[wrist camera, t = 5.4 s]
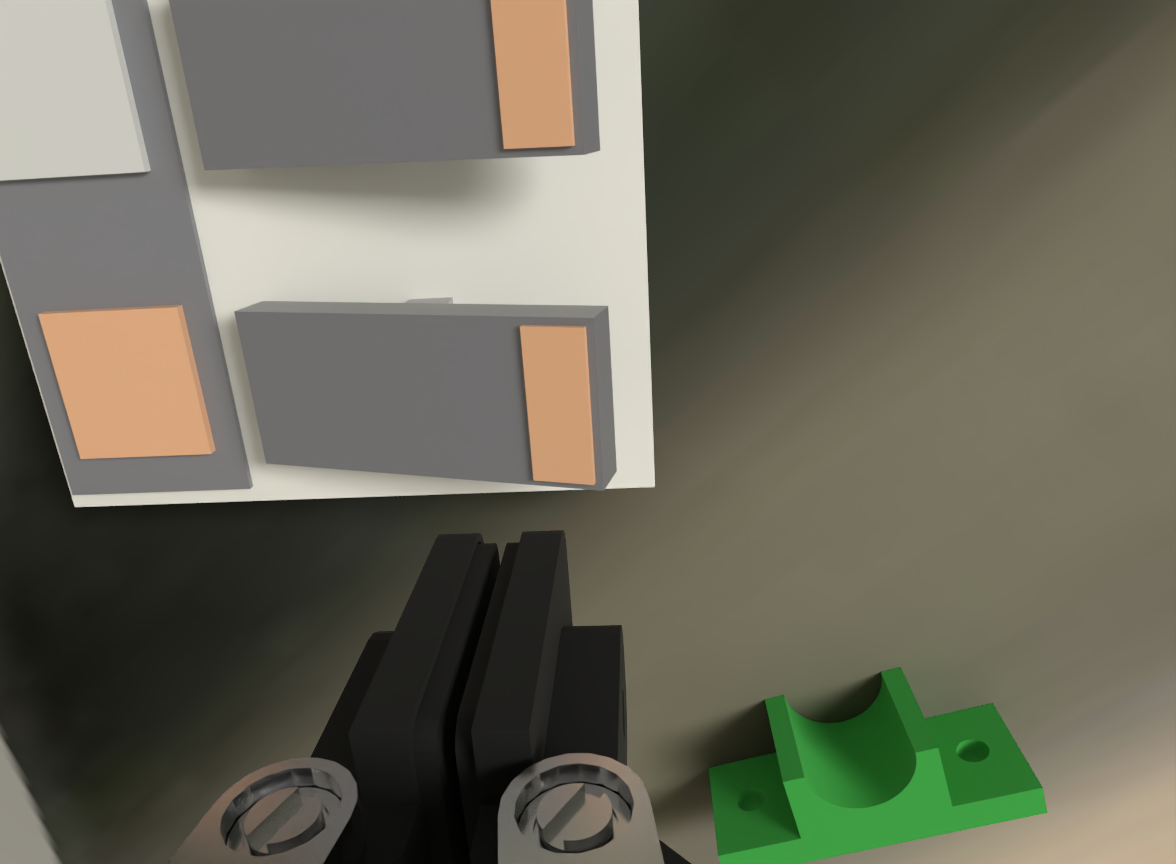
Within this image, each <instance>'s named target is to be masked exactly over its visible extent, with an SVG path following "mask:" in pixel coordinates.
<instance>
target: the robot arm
mask: <svg viewBox="0 0 1176 864" xmlns="http://www.w3.org/2000/svg"><path fill="white" fill-rule="evenodd" d="M167 864H691V863H689V862H688V861H687V860H685V859H684V858H683V857H681V856H680V855H679V854H678V853H676V852H675V851H674V850H672V849H671V848H670V847H668V846H667V845H666V844H664V843H663V842H662V841H660V840H659V837H658V833H657V829H656V824H655V820H654V815H653V811H652V807H651V802H650V798H649V795H648V793H647V790H646V788H645V786H644V784H643V782H642V780H641V779H640V778H639V777H638V776H637V775H636V774H635V773H634V772H633V771H632V770H631V769H630V768H629V767H628V766H627V709H626V683H625V664H624V646H623V632H622V625H610V626H573V625H572V612H571V600H570V587H569V574H568V562H567V549H566V539H565V533H564V530H562V531H532V532H523V533H522V535H521V539H520V543H507V545H506V548H505V551H504V555H503V558H502V562H501V565H500V561H499V553H498V548H497V545H496V543H490V544H484V542H483V538H482V535H481V534H480V533H472V534H443V535H438V537H437V538H436V540H435V543H434V545H433V547H432V549H431V551H430V554H429V556H428V558H427V560H426V563H425V565H424V567H423V569H422V571H421V574H420V576H419V578H418V580H417V582H416V585H415V587H414V589H413V591H412V593H411V596H410V598H409V600H408V602H407V604H406V607H405V609H404V611H403V613H402V616H401V618H400V620H399V622H398V624H397V627H396V629H395V631H380V632H375V633H373V634H372V636H371V637H370V639H369V640H368V642H367V644H366V646H365V648H364V650H363V652H362V654H361V656H360V658H359V660H358V662H357V664H356V666H355V668H354V670H353V672H352V674H351V676H350V678H349V680H348V682H347V684H346V686H345V688H344V691H343V693H342V695H341V697H340V699H339V701H338V703H337V705H336V707H335V709H334V711H333V713H332V715H331V717H330V719H329V721H328V723H327V725H326V727H325V729H324V731H323V733H322V735H321V737H320V739H319V741H318V743H317V745H316V747H315V749H314V751H313V753H312V755H311V757H310V758H294V759H290V760H286V761H281V762H277V763H273V764H271V765H269V766H266V767H264V768H262V769H259V770H257V771H255V772H252V773H251V774H249V775H247V776H246V777H244V778H243V779H241V780H240V781H238V782H237V783H235V784H234V785H232V786H231V787H230V788H229V789H228V790H227V791H226V792H225V793H224V794H223V795H222V796H221V797H220V798H219V799H218V800H217V801H216V802H215V803H214V805H213V806H212V807H211V808H210V810H209V811H208V812H207V813H206V815H205V816H204V817H203V819H202V820H201V821H200V822H199V824H198V825H197V826H196V827H195V829H194V830H193V831H192V832H191V834H190V835H189V836H188V838H187V839H186V840H185V841H184V843H183V844H182V845H181V846H180V848H179V849H178V850H177V851H176V853H175V854H174V855H173V857H172V858H171V859H170V860H169V862H168V863H167Z"/></svg>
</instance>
